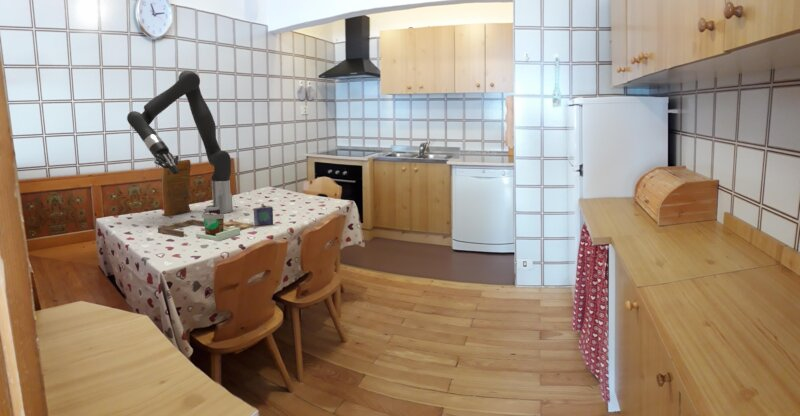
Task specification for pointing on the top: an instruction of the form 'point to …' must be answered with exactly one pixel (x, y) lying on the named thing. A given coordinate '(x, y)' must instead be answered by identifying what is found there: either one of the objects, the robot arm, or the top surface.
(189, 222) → the walnut stall
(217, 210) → the mate gourd
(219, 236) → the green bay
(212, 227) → the food container
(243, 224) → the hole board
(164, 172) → the pancake mix bag
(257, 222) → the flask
